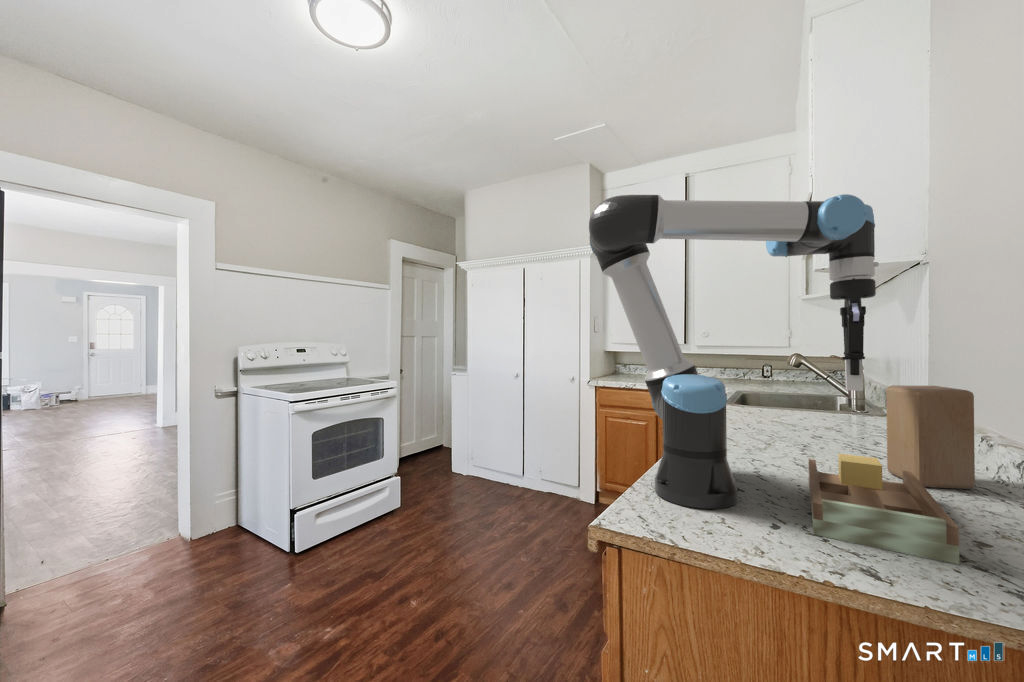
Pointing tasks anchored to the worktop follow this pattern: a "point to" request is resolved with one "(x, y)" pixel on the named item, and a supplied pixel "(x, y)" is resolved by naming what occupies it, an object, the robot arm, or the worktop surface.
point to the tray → (883, 516)
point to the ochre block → (860, 471)
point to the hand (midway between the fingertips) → (854, 390)
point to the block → (931, 435)
